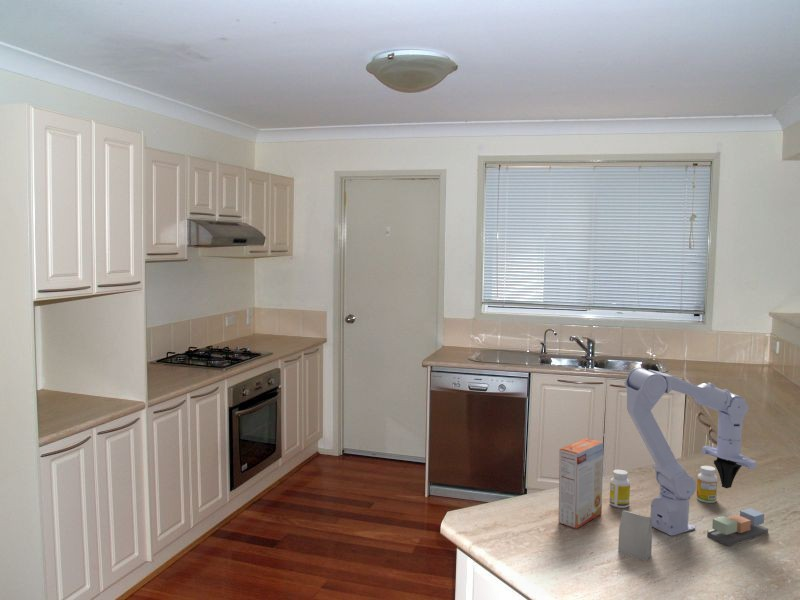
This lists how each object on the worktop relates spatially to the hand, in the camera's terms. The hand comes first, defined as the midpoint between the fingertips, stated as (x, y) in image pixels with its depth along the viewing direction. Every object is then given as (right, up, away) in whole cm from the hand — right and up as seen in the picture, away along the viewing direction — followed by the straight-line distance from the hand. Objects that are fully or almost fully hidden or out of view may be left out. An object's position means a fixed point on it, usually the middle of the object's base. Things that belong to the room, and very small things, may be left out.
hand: (726, 487), depth 173 cm
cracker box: (-39, -10, +3) cm, 40 cm away
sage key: (-5, -9, -8) cm, 13 cm away
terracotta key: (0, -9, -6) cm, 11 cm away
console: (0, -11, -6) cm, 12 cm away
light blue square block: (+5, -8, -3) cm, 10 cm away
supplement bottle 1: (-24, -9, +13) cm, 29 cm away
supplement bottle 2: (+3, -9, +17) cm, 19 cm away
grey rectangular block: (-31, -12, -16) cm, 37 cm away
